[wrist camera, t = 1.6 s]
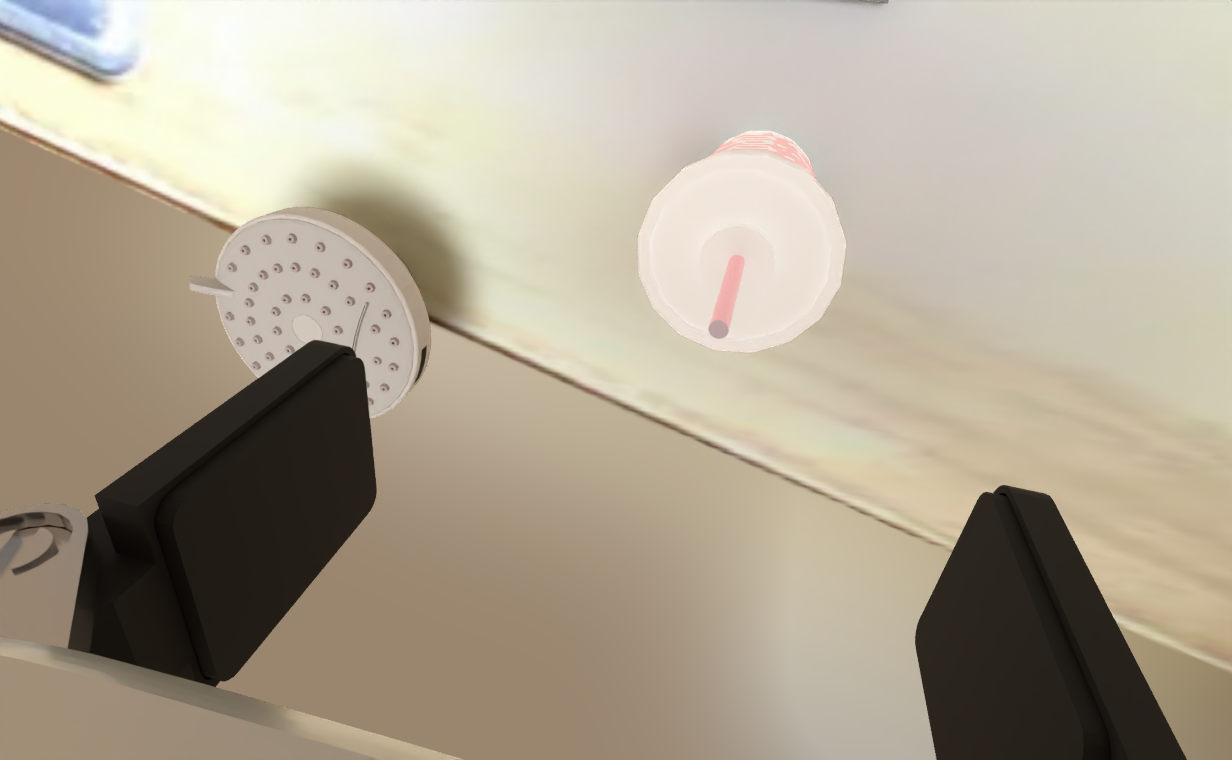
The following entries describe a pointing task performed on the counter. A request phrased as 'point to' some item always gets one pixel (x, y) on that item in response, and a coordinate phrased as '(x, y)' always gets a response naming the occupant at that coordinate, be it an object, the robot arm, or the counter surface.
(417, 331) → the showerhead
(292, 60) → the counter surface
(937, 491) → the counter surface
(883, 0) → the ring holder
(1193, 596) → the counter surface
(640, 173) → the counter surface
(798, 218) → the beverage cup
